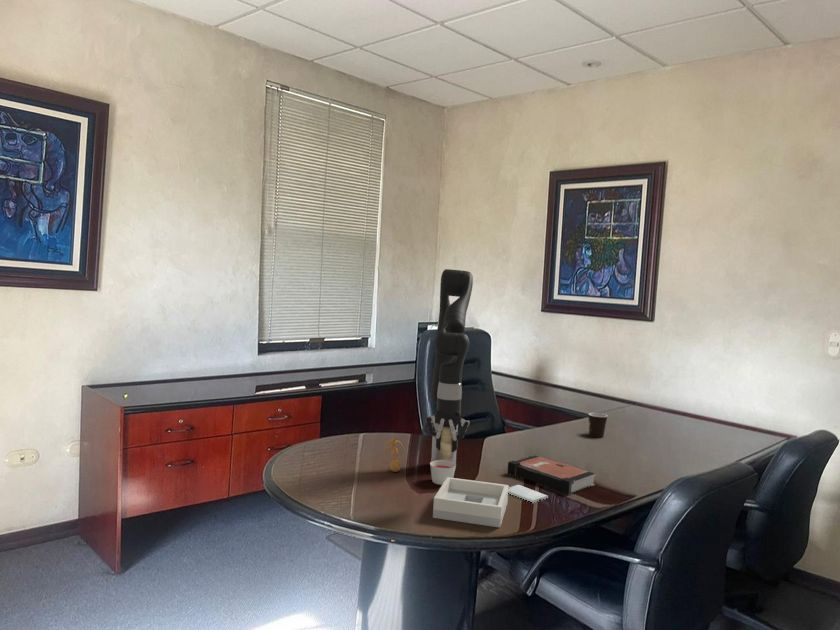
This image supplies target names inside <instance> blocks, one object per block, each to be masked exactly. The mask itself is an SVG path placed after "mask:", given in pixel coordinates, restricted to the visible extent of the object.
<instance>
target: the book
mask: <svg viewBox="0 0 840 630" xmlns="http://www.w3.org/2000/svg"><path fill="white" fill-rule="evenodd" d="M507 473H508V474H507V475H509V474H511V475H510V476H512V475H514V476H513V477H517V476H518V477H517V478H520V477H522V478H521V479H523V478H524V479H523V480H525V479H528V480H530V481H529V482H531V481H534V482H536V483H535V484H537V483H539V484H538V485H540V484H542V485H541V486H543V485H545V486H544V487H546V486H548V487H547V488H549V487H550V488H549V489H552V488H553V489H552V490H555V489H556V490H555V491H558V490H559V491H558V492H560V493H562V492H563V494H565V493H566V494H565V495H567V494H570V495H572V494H574V492H575V493H577V492H576V491H578V492H580V491H583V490H585V488H586V489H588V488H590V486H591V487H594V486H596V483H595V482H594V480H595V477H596V476H597V475H596V473H594V472H591V471H587V470H584V469H581V468H577V467H574V466H572V465H569V464H568V463H566V462H557V461H554V460H551V459H549V458H548V459H547V458H545V457H542V456H538V455H533V456H529V457H526V458H521V459H519V460H510V461H508V462H507ZM515 475H516V476H515ZM528 480H527V481H528ZM534 482H533V483H534ZM587 487H588V488H587ZM582 489H583V490H582ZM579 490H580V491H579ZM571 493H572V494H571Z"/></svg>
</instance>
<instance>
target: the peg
mask: <svg viewBox="0 0 840 630" xmlns="http://www.w3.org/2000/svg"><path fill="white" fill-rule="evenodd" d="M452 441H453V436H452V433H451V429H450V427H443V428H442V431H441V441H440V458H441V459H452V455H453V452H452Z"/></svg>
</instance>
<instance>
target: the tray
mask: <svg viewBox="0 0 840 630" xmlns="http://www.w3.org/2000/svg"><path fill="white" fill-rule="evenodd" d="M509 487H510V486H509V485H508V484H504V483H503V484H501V483H494V482H487V481H480V480H472V479H464V478H457V477H456V478H455V477H453V478H450V477H447V479H446V480H445V482H444V483H443V485H440V487H439V490H438V491H437V492H436V494H435V496H434V497H433V509H432V518H433V519H440V520H446V521H454V522H458V523H459V522H461V523H466V524H473V525H481V526H487V527H493V528H494V527H495V528H501V526H502V522H503V519H504V516H505V513H506V509H507V507H508V503H509V502H508V501H509V494H508V488H509ZM506 506H507V507H506Z"/></svg>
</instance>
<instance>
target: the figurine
mask: <svg viewBox="0 0 840 630" xmlns="http://www.w3.org/2000/svg"><path fill="white" fill-rule="evenodd" d="M389 444H390V445H391V446H390V447H391V448H390V453H391V460H392V461H391V462H390V463H389V469H390V471H392V472H393V473H397V472H399V471H400V470H401V466H402V465H401V463H400V461H399V460H398V455H399V451H398V447H397V444H400V446H401V447H402V448H403V450H404V451H406V450H405V449H406V448H405V447H404V445H403V444H402V442H401V441H399V440H397V439H396V437H393V438H390V440H388V441H387V442H386V443H385V444H384V447H383V453H386V448H387V445H389ZM394 454H395V459H394Z"/></svg>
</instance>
